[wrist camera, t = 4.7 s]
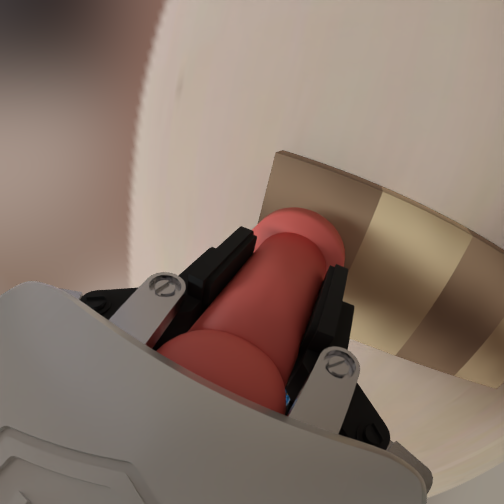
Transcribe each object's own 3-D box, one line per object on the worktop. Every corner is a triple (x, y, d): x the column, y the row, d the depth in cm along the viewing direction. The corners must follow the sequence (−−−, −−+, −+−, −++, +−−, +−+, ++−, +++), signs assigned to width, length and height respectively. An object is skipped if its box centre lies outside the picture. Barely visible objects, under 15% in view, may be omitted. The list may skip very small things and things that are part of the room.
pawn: (263, 193, 13) (71, 353, 4) (360, 230, 12) (303, 483, 3) (244, 272, 15) (115, 431, 7) (324, 306, 14) (247, 503, 6)
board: (282, 150, 14) (275, 152, 13) (561, 291, 9) (567, 301, 8) (247, 283, 19) (240, 292, 18) (494, 378, 14) (496, 389, 13)
